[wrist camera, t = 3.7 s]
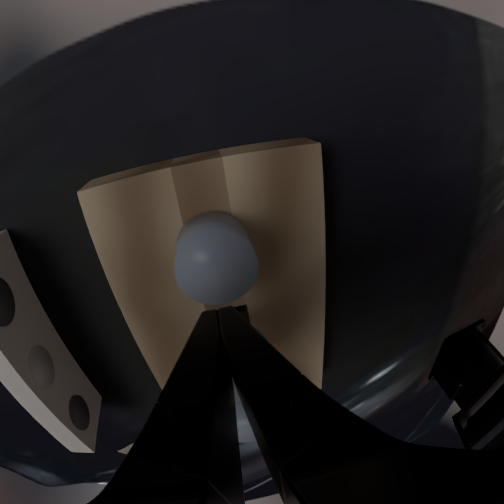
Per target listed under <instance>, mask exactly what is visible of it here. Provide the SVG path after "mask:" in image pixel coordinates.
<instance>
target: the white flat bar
mask: <svg viewBox="0 0 504 504" xmlns="http://www.w3.org/2000/svg"><path fill="white" fill-rule="evenodd" d="M0 381H1V382H2V383H3V385H4V386H5V387H6V388H7V389H8V391H9V392H10V393H11V394H12V395H13V396H14V397H15V398H16V400H17V401H18V402H19V403H20V404H21V405H22V406H23V407H24V408H25V409H26V410H27V411H28V412H29V413H30V414H31V415H32V416H33V417H34V418H35V419H36V420H37V421H38V422H39V423H40V424H41V425H42V426H43V427H44V428H45V429H46V430H47V431H48V432H49V433H50V434H51V435H53V436H54V437H55V438H56V439H57V440H58V441H59V442H60V443H62V444H63V445H64V446H65V447H66V448H67V449H69V450H70V451H71V452H85V453H94V452H95V443H96V435H97V427H98V420H99V413H100V406H101V400H102V397H101V395H100V394H99V393H98V391H97V390H96V389H95V388H94V386H93V385H92V384H91V382H90V381H89V379H88V378H87V377H86V375H85V374H84V373H83V371H82V370H81V368H80V367H79V365H78V364H77V362H76V361H75V360H74V358H73V357H72V355H71V354H70V352H69V350H68V349H67V347H66V346H65V344H64V343H63V341H62V339H61V338H60V336H59V335H58V333H57V331H56V330H55V328H54V326H53V325H52V323H51V321H50V319H49V318H48V316H47V314H46V312H45V311H44V309H43V307H42V305H41V303H40V301H39V299H38V298H37V296H36V294H35V292H34V290H33V288H32V286H31V284H30V282H29V280H28V278H27V276H26V273H25V271H24V269H23V267H22V265H21V263H20V260H19V258H18V256H17V253H16V251H15V249H14V246H13V244H12V241H11V239H10V236H9V234H8V231H7V229H6V230H3V231H0Z"/></svg>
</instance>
